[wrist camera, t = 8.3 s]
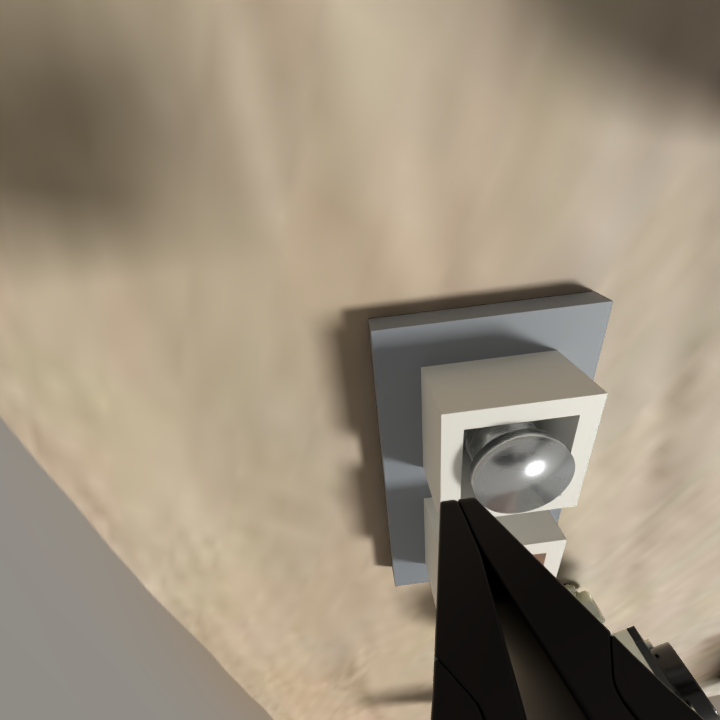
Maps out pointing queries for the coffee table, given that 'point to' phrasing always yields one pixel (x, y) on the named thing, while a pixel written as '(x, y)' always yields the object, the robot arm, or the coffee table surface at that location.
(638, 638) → the pneumatic valve
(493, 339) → the board
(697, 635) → the coffee table surface
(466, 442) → the plug metal
